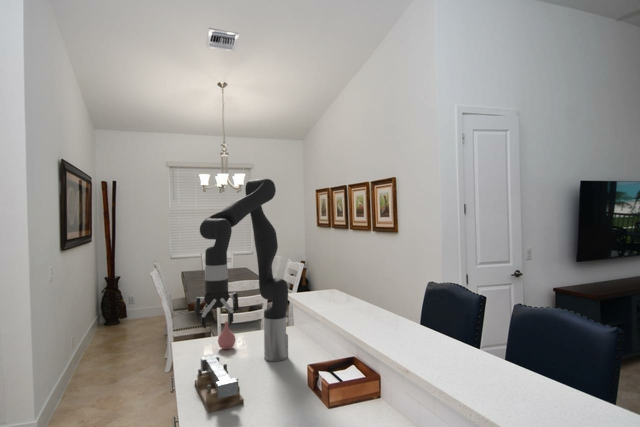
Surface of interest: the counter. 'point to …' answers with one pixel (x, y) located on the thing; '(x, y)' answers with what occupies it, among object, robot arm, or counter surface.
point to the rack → (209, 393)
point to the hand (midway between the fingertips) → (217, 325)
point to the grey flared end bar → (219, 377)
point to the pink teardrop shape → (226, 338)
